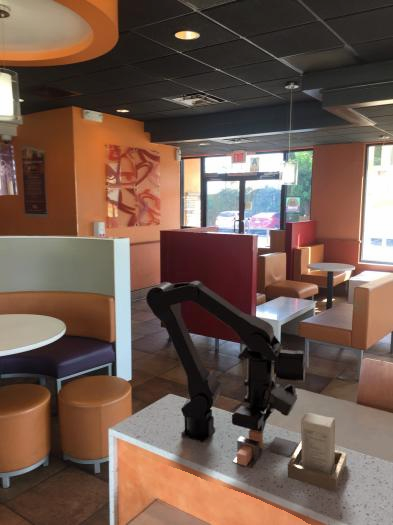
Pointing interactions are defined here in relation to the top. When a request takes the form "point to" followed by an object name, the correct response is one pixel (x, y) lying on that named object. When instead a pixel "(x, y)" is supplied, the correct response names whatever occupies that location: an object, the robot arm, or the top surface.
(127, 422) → the top surface
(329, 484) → the open wooden box
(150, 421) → the top surface
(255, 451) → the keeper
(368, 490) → the top surface
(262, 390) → the robot arm
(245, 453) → the lock bar
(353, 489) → the top surface
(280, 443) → the coaster
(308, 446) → the skincare box
